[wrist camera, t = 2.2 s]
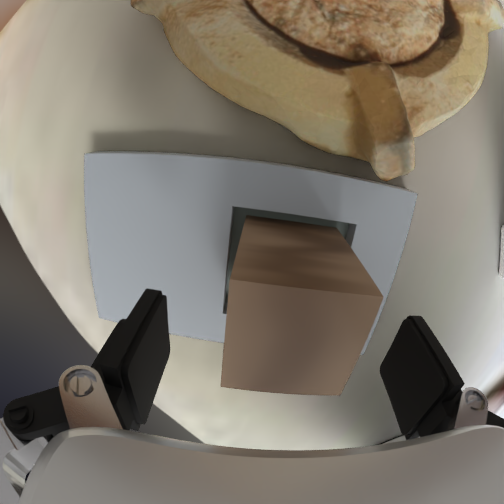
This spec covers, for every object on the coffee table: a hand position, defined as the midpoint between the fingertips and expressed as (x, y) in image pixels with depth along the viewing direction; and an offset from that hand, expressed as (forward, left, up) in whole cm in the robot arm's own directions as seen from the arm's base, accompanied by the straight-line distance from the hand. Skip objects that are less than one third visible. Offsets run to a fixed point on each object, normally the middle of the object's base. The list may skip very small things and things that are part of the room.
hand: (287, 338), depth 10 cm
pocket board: (+3, +1, -8) cm, 9 cm away
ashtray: (-2, -18, -9) cm, 20 cm away
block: (0, +1, -8) cm, 8 cm away
